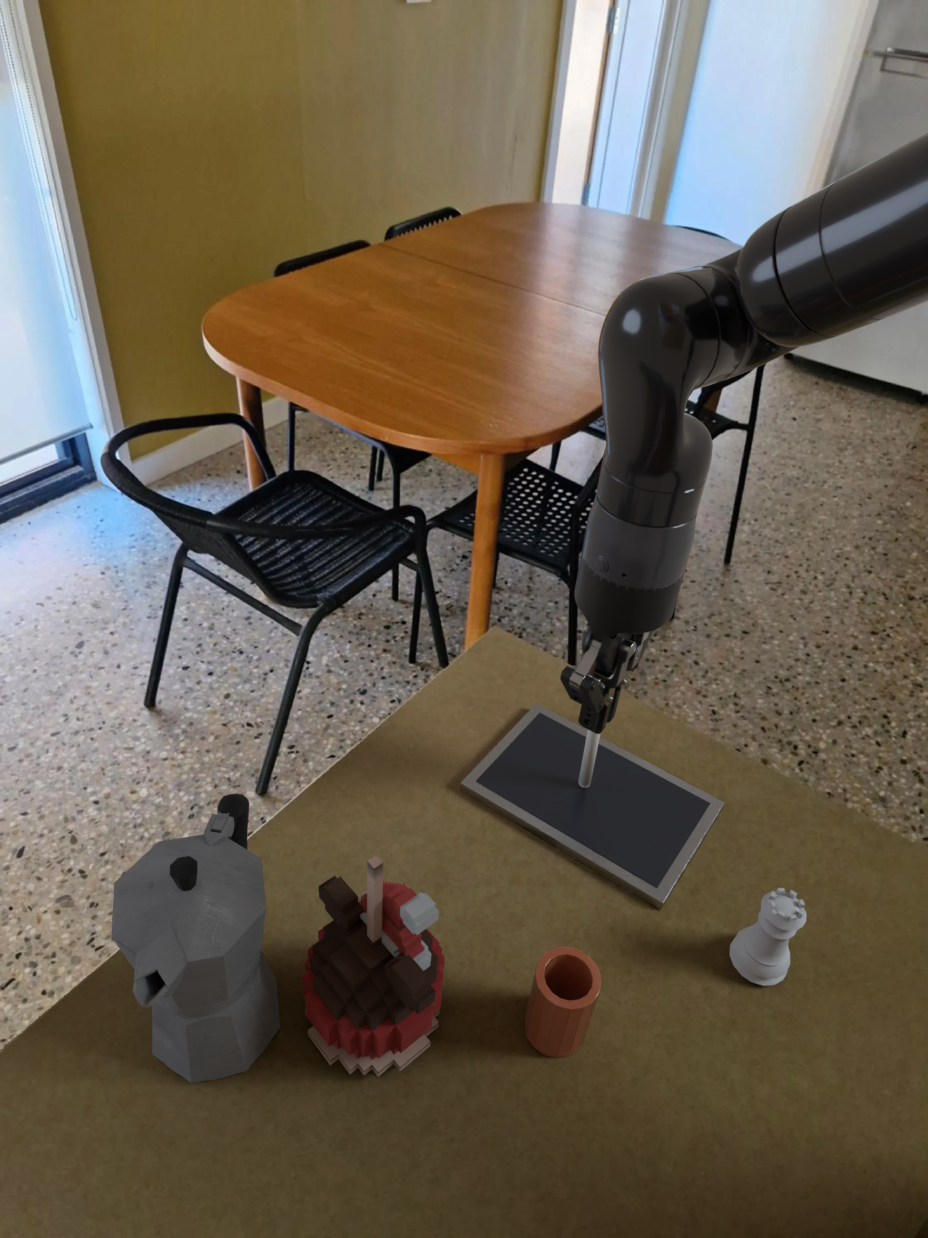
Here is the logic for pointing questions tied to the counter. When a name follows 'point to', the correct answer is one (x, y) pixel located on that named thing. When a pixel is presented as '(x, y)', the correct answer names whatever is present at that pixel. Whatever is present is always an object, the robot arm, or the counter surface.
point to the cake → (374, 975)
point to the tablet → (596, 803)
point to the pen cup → (561, 1001)
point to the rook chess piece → (769, 939)
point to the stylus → (589, 757)
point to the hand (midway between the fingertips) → (595, 721)
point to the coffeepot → (200, 947)
